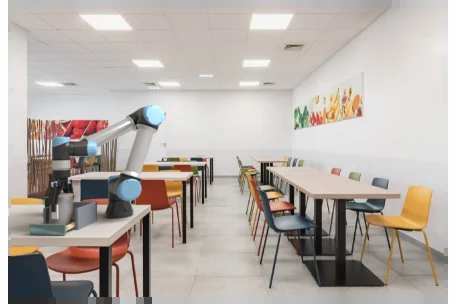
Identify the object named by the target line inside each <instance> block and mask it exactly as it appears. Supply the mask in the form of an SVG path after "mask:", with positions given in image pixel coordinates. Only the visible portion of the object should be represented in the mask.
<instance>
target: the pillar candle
mask: <svg viewBox="0 0 456 304" xmlns="http://www.w3.org/2000/svg"><path fill="white" fill-rule="evenodd" d="M73 202H74V200H73V194H72V193H64V192H63V190H62V191H61V192H60V195H59V196H58V202H57V205H58V219H52V212H51V205H50V212H49V224H70V223H72V214H73Z"/></svg>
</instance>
